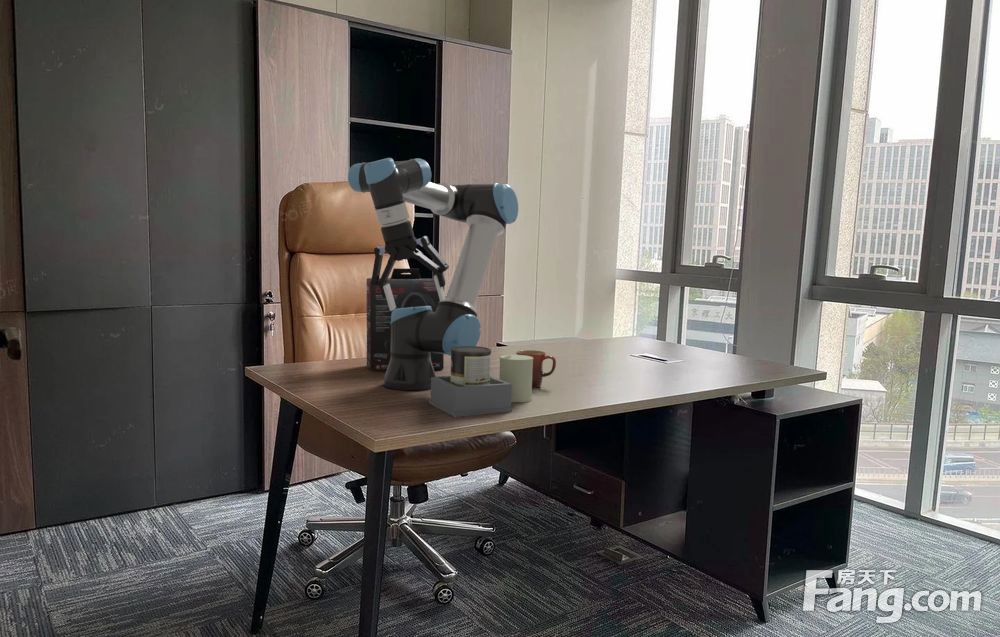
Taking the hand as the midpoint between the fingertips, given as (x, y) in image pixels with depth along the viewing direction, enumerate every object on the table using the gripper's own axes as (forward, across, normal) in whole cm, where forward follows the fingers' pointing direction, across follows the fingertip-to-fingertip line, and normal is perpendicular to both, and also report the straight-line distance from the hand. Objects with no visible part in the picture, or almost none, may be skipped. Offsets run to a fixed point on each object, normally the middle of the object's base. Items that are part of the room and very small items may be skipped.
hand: (417, 304), depth 185 cm
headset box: (+31, -28, +46) cm, 63 cm away
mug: (+38, +18, +28) cm, 51 cm away
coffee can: (+28, +7, -3) cm, 29 cm away
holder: (+28, +7, -3) cm, 29 cm away
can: (+34, +16, +10) cm, 38 cm away
